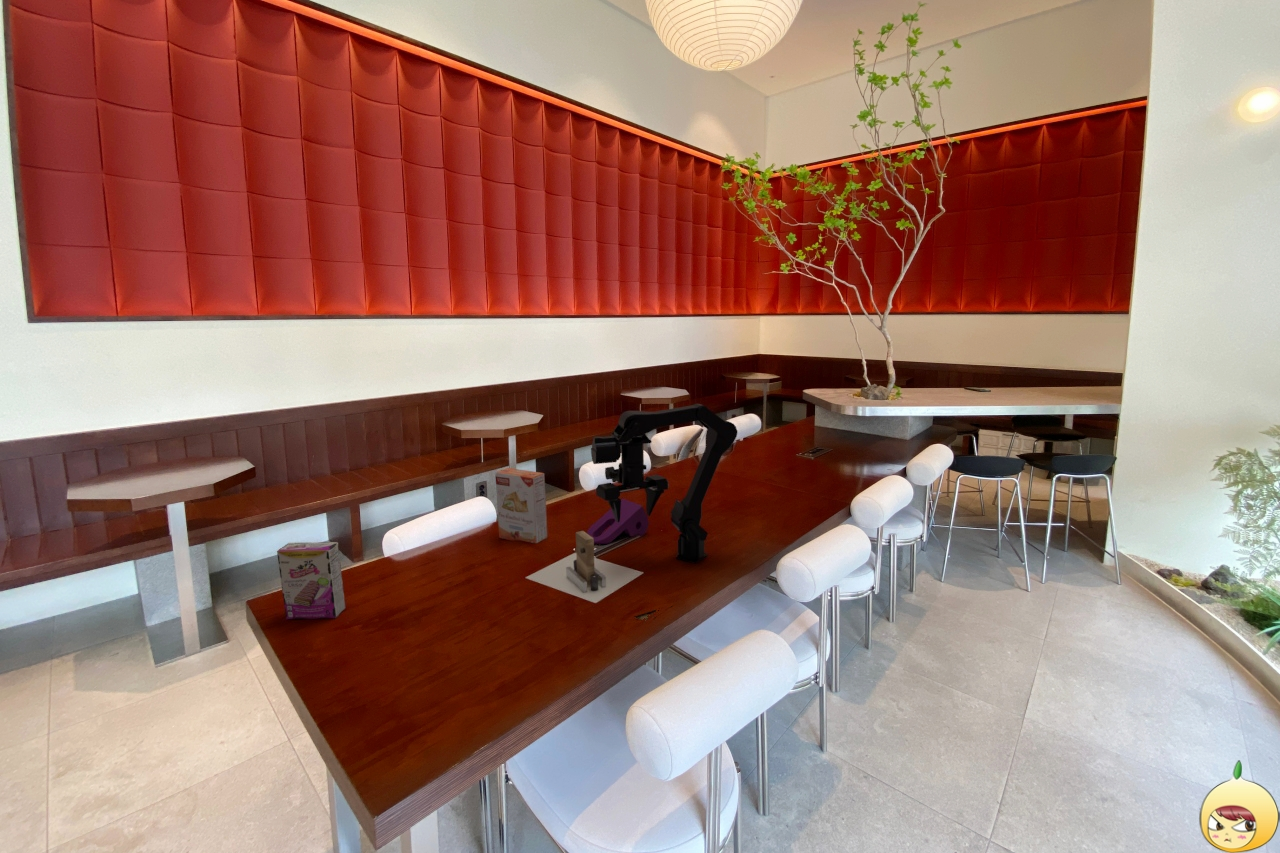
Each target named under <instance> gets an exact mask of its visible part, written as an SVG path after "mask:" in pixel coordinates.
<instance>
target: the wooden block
mask: <svg viewBox="0 0 1280 853" xmlns="http://www.w3.org/2000/svg"><path fill="white" fill-rule="evenodd" d="M575 549H576V550H575V553H576V558H577V573H578V574H579V575H580V576H581V577H582V578H583V579H584V580H585V581H587V587H590V586H591V580H590V575H592V574H595V568H594V558H595V543H594V538H592V537H591V536H590V535H588V534H587V532H585V531H584V530H581V531H576V532H575Z"/></svg>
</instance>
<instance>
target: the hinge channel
mask: <svg viewBox="0 0 1280 853" xmlns="http://www.w3.org/2000/svg"><path fill="white" fill-rule="evenodd" d="M594 568H595V567H594ZM566 577H567V578H568V579H569V580H571V581H572V582H573V583H574V584H575V585H576V586H577V587H578V588H579V589H580V590H581V591H582V592H583V593H584V592H587V581H585V580H584V579H583V578H582V577H581V576H580V575H579V574H578V573H577V560H574V570H573V569H572V568H571V567H570V566H569V567H566ZM590 580H591V591H597V590H598V584H599V585H600V586H601V587H606V577H605V576H604V575H603V574H602V573H601V572H599V571H598V570H597V569H596V568H595V574H592V575H590Z"/></svg>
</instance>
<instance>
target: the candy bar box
mask: <svg viewBox="0 0 1280 853" xmlns="http://www.w3.org/2000/svg"><path fill="white" fill-rule="evenodd" d="M339 548H340V546H339V542H338V541H331V542H330V541H329V542H321V541H320V542H288V543H286V544H285V545H284V546H282V547H281V548H279V549H278V550H277V551H276V553H277V560H278V561H277V562H278V569H279V577H280V582H281V589H282V597H283V605H284V606H283V607H284V612H285V619H286V620H305V619H306V620H307V619H308V620H309V619H311V620H312V619H336V618H338V617H339V615H340V614H341V613H342V612H343V611H344V610H345V609H346V602H345V600H346V599H345V592H344V591H345V590H344V584H343V576H342V567H341V566H342V565H341V556H340V549H339Z"/></svg>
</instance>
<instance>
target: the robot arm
mask: <svg viewBox="0 0 1280 853" xmlns="http://www.w3.org/2000/svg"><path fill="white" fill-rule="evenodd" d="M697 421H698V422H699V423H700V424H701V426H703V427H704V428H705V429H706V433H705V448H704V451H703V452H702V456H701V459H700V461H699V464H698V466H697V468H696V469H695V472H694V476H693V478H692V480H691V482H690V486H689V487H688V490H687V491H686V492H687V493H686V494H685V496H684V497H683V498H682V500H681V501H679V500H678V499H676V500H675V501H674V503H673V504H674V505H673V508H671V511H669V513H670V514H671V516H670V520H671V524H672V525H673V526H674V527H675V528H676V529H677V531H678V532H679V533H680V534H678V539H677V555H675V558H676V559H678V560H683V561H687V562H689V563H692V562H694V563H693V564H698V563H699V562H700V561H701V559H702V560H703V559H704V557H705V556H706V557H707V556H708V553H706V552H705V541H706V540H707V537H708V534H709V533H708V532H707V531H706V530H705V529H704V528H703V527H702V526H701V521H702V512H703V511H702V506H703V502H704V500H705V497H706V495H707V492H708V490H709V487H710V484H712V483H711V482H712V480H713V478H714V475H715V473H716V470H717V468H718V466H719V463H720V460H721V458H722V456H723V455H724V454H725V453H726V452H727V451H728V450H729V449H730V448H731V447H732V445H733V444H734V442H735V440H736V439H737V436H738V429H737V426H736V425H735V423H733V422H731V421H729V420H726V419H723V418H721V417H720V416H719V415H717V414H715V413H714V412H713V411H711V409H709V408H708V406H705V405H704V404H700V403H695V404H692V405H687V406H680V407H673V408H668V409H662V410H656V411H645V410H627V411H623V412H622V414H620V416H619V419H618V424H617V425H616V426H615V427H614V429H613V431H612V432H611V434H610V436H597V435H596V436H593V437H592V444H591V447H590V454H591V460H592V463H593V465H598V464H599V465H600V464H609V463H617V461H620V460H621V462H619V463H618V468H616V469H615V467H614V466H608V467H605V468H604V475H605V479H606V480H611V481H612V482H607V483H601V484H597V487H596V488H595V494H596V496H597V497H599V498H600V499H602V500H604V501H607V503H608V504H609V507H610V509H612V512H613V514H614V517H615V519H616V521H617V522H620V512H621V500H622V499H621V498H620V496H621V493H626V492H627V493H628V492H632V491H637V490H643V489H644V492H645V496H646V500H645V501H646V502H645V504H646V506H645V507H646V508H645V513H646V515H647V517H648V516H651V515H652V512H653V510H654V509H655V506H656V504H657V502H658V500H659V499H660V497H661V495H662V494H664V493H665V491H667V490H669V486H670V485H669V484H670V483H669V481H668V479H667V478H666V477H663V476H661V475H660V474H659V475H658V474H653V475H646V476H644V475H645V473H644V472H645V470H647V465H646V464H644V463H645V462H644V461H645V460H644V457H645V455H644V453H645V452H644V448H645V447H644V444H652V439H650V438H649V437H648V436H647V435H646V434H648V433H651V432H652V431H654V430H657V429H658V428H663V427H669V426H674V425H679V424H681V425H682V424H686V423H691V422H693V423H694V422H697ZM620 458H621V459H620ZM613 483H618V484H620V485H616V484H613ZM706 557H705V558H706ZM698 561H699V562H698Z"/></svg>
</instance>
